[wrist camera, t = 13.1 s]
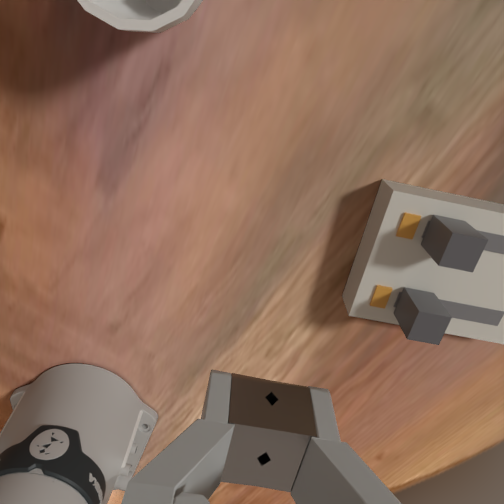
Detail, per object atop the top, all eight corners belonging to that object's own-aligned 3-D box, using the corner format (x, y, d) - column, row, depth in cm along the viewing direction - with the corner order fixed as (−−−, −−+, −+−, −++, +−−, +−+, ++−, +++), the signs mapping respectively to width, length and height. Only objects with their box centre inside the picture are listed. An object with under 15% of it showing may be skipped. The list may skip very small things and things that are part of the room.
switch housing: (505, 326, 50) (526, 349, 46) (342, 296, 49) (349, 317, 45) (565, 217, 45) (594, 233, 41) (382, 179, 43) (394, 191, 39)
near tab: (451, 251, 42) (472, 272, 38) (420, 244, 41) (438, 265, 37) (465, 221, 40) (488, 239, 36) (433, 214, 40) (453, 232, 36)
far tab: (422, 318, 45) (438, 344, 41) (393, 313, 45) (407, 339, 41) (433, 292, 44) (452, 317, 40) (404, 287, 43) (419, 311, 39)
